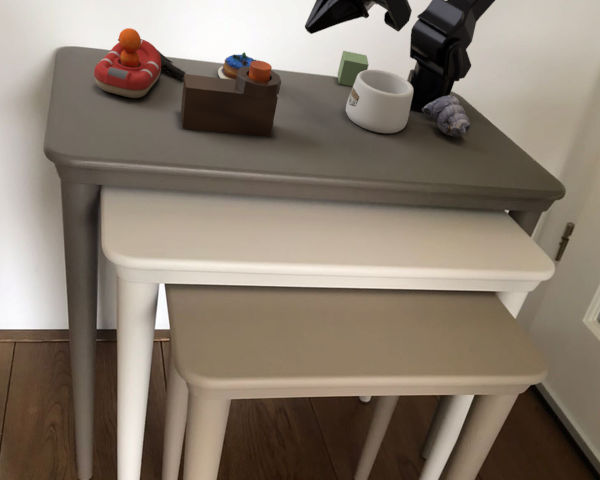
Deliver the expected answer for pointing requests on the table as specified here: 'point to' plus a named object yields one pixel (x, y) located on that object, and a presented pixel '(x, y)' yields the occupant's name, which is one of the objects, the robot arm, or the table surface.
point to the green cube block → (351, 67)
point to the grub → (448, 115)
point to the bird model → (170, 67)
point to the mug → (380, 101)
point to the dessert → (234, 66)
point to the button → (260, 71)
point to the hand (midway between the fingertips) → (307, 30)
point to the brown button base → (230, 103)
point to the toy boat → (129, 66)
